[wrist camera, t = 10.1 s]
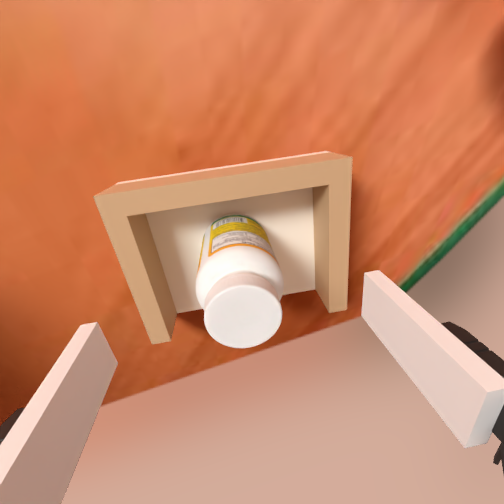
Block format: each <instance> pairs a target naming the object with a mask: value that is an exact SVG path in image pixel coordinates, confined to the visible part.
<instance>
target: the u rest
mask: <svg viewBox="0 0 504 504" xmlns="http://www.w3.org/2000/svg"><path fill="white" fill-rule="evenodd" d="M351 184H352V157H351V156H346V155H342V154H337V153H333V152H328V151H323V152H317V153H310V154H303V155H297V156H290V157H283V158H277V159H270V160H263V161H257V162H250V163H244V164H237V165H230V166H224V167H217V168H210V169H204V170H197V171H190V172H184V173H177V174H170V175H164V176H157V177H151V178H144V179H137V180H131V181H124V182H119V183H117V184H115V185H113V186H111V187H109V188H107V189H106V190H104V191H102V192H100V193H98V194H96V195H95V196H93V197H94V200H95V202H96V205H97V207H98V210H99V212H100V215H101V218H102V220H103V223H104V225H105V228H106V230H107V233H108V235H109V238H110V240H111V243H112V245H113V248H114V250H115V253H116V255H117V258H118V260H119V263H120V265H121V268H122V270H123V273H124V275H125V278H126V280H127V283H128V285H129V288H130V290H131V293H132V295H133V298H134V300H135V303H136V305H137V308H138V310H139V313H140V315H141V318H142V321H143V323H144V326H145V328H146V331H147V333H148V336H149V338H150V341H151V343H152V344H157V343H162V342H168V341H171V338H172V334H173V329H174V325H175V321H176V316H177V313H182V312H187V311H193V310H199V309H203V308H202V307H201V305H200V303H199V301H198V299H197V295H196V276H197V271H198V265H199V259H200V253H201V246H202V241H203V237H204V234H205V231H206V229H207V228H208V226H209V225H210V224H211V223H212V222H213V221H214V220H216V219H217V218H219V217H221V216H223V215H227V214H233V213H237V214H244V215H247V216H250V217H252V218H253V219H255V220H256V221H258V222H259V223H260V224H261V225H262V227H263V228H264V230H265V232H266V234H267V237H268V239H269V242H270V244H271V247H272V249H273V252H274V254H275V256H276V259H277V261H278V264H279V266H280V269H281V271H282V274H283V279H284V289H283V294H282V295H286V294H292V293H297V292H303V291H309V290H316V291H317V293H318V295H319V296H320V298H321V300H322V302H323V303H324V305H325V307H326V308H327V310H328V312H329V313H332V312H337V311H343V310H347V295H348V267H349V239H350V211H351Z"/></svg>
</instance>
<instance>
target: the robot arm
mask: <svg viewBox="0 0 504 504" xmlns="http://www.w3.org/2000/svg"><path fill="white" fill-rule="evenodd" d="M361 316H362V317H363V319H364V320H365V321H366V322H367V324H368V325H369V326H370V327H371V329H372V330H373V331H374V333H375V334H376V335H377V336H378V338H379V339H380V340H381V342H382V343H383V344H384V345H385V347H386V348H387V349H388V351H389V352H390V353H391V354H392V355H393V357H394V358H395V360H396V361H397V362H398V363H399V365H400V366H401V367H402V369H403V370H404V371H405V372H406V373H407V375H408V376H409V377H410V379H411V380H412V381H413V383H414V384H415V385H416V386H417V388H418V389H419V390H420V392H421V393H422V394H423V395H424V397H425V398H426V399H427V401H428V402H429V403H430V404H431V406H432V407H433V408H434V409H435V411H436V412H437V413H438V415H439V416H440V417H441V418H442V420H443V421H444V422H445V424H446V425H447V426H448V427H449V429H450V430H451V431H452V432H453V434H454V435H455V436H456V438H457V439H458V440H459V442H460V443H461V444H462V445H463V446H464V448H468V447H473V446H477V445H481V444H486V443H487V442H488V440H489V438H490V435H491V433H492V432H493V433H494V434H495V435H496V437H497V438H498V439H499V440H500V441H501V444H500V446H499V448H498V450H497V452H496V454H495V456H494V462H493V463H495V464H497V465H498V464H499V462H500V460H502V466H503V473H504V361H503V360H502V359H501V358H500V357H498V356H497V355H496V354H495V353H494V352H492V351H489V349H488V348H487V347H486V346H485V345H484V344H483V343H481V342H479V341H478V339H476V338H475V337H474V336H472V335H471V334H470V333H469V332H468V331H466V330H465V329H463V328H461V327H459V326H457V325H455V324H453V323H451V322H446V323H439V322H438V321H437V320H436V319H435V318H434V317H432V316H431V315H430V314H429V313H428V312H426V311H425V310H424V309H423V308H422V307H421V306H420V305H419V304H417V303H416V302H415V301H414V300H413V299H412V298H410V297H409V296H408V295H407V294H406V293H405V292H404V291H403V290H401V289H400V288H399V287H398V286H397V285H396V284H394V283H393V282H392V281H391V280H390V279H389V278H388V277H386V276H385V275H384V274H383V273H382V272H381V271H379V270H377V271H371V272H366V273H364V286H363V300H362V314H361ZM117 364H118V362H117V360H116V358H115V356H114V354H113V352H112V350H111V348H110V346H109V344H108V342H107V340H106V338H105V336H104V334H103V332H102V330H101V328H100V326H99V324H98V322H95V323H89V324H84V325H80V327H79V328H78V330H77V331H76V333H75V334H74V336H73V337H72V339H71V340H70V342H69V343H68V345H67V346H66V348H65V349H64V351H63V352H62V354H61V355H60V357H59V358H58V360H57V361H56V363H55V364H54V366H53V367H52V369H51V370H50V372H49V373H48V375H47V376H46V378H45V379H44V381H43V382H42V384H41V385H40V387H39V388H38V390H37V391H36V392H35V394H34V395H33V397H32V398H31V400H30V401H29V403H28V404H27V406H26V407H25V408H20V409H17V410H16V411H15V412H14V413H13V414H12V415H11V416H10V417H9V418H8V419H7V420H6V421H5V422H4V423H3V424H2V425H1V426H0V504H61V503H62V500H63V498H64V495H65V493H66V490H67V488H68V485H69V483H70V480H71V478H72V475H73V473H74V471H75V468H76V466H77V463H78V461H79V458H80V455H81V453H82V451H83V448H84V446H85V443H86V441H87V438H88V436H89V433H90V431H91V429H92V426H93V424H94V421H95V418H96V416H97V414H98V411H99V409H100V406H101V404H102V401H103V399H104V396H105V394H106V392H107V389H108V387H109V384H110V382H111V379H112V377H113V374H114V372H115V369H116V367H117Z"/></svg>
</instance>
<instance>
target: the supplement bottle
mask: <svg viewBox="0 0 504 504" xmlns="http://www.w3.org/2000/svg"><path fill="white" fill-rule="evenodd" d="M283 289H284V279H283V274H282V271H281V269H280V266H279V264H278V261H277V259H276V256H275V254H274V252H273V249H272V247H271V244H270V242H269V239H268V237H267V234H266V232H265V230H264V228H263V227H262V225H261V224H260V223H259V222H258V221H256V220H255V219H253V218H252V217H250V216H247V215H244V214H237V213H233V214H227V215H223V216H221V217H219V218H217V219H216V220H214V221H213V222H212V223H211V224H210V225H209V226H208V228H207V229H206V231H205V234H204V237H203V241H202V246H201V253H200V259H199V265H198V271H197V276H196V295H197V299H198V301H199V303H200V305H201V307H202V308H203V310H204V323H205V326H206V329H207V331H208V333H209V334H210V335H211V336H212V338H214V339H215V340H216V341H218V342H219V343H221V344H223V345H226V346H229V347H234V348H249V347H253V346H257V345H259V344H261V343H263V342H265V341H267V340H268V339H270V338H271V337H272V336H273V335H274V334H275V332H276V331H277V330H278V328H279V326H280V324H281V320H282V308H281V304H280V300H281V297H282V294H283Z"/></svg>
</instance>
